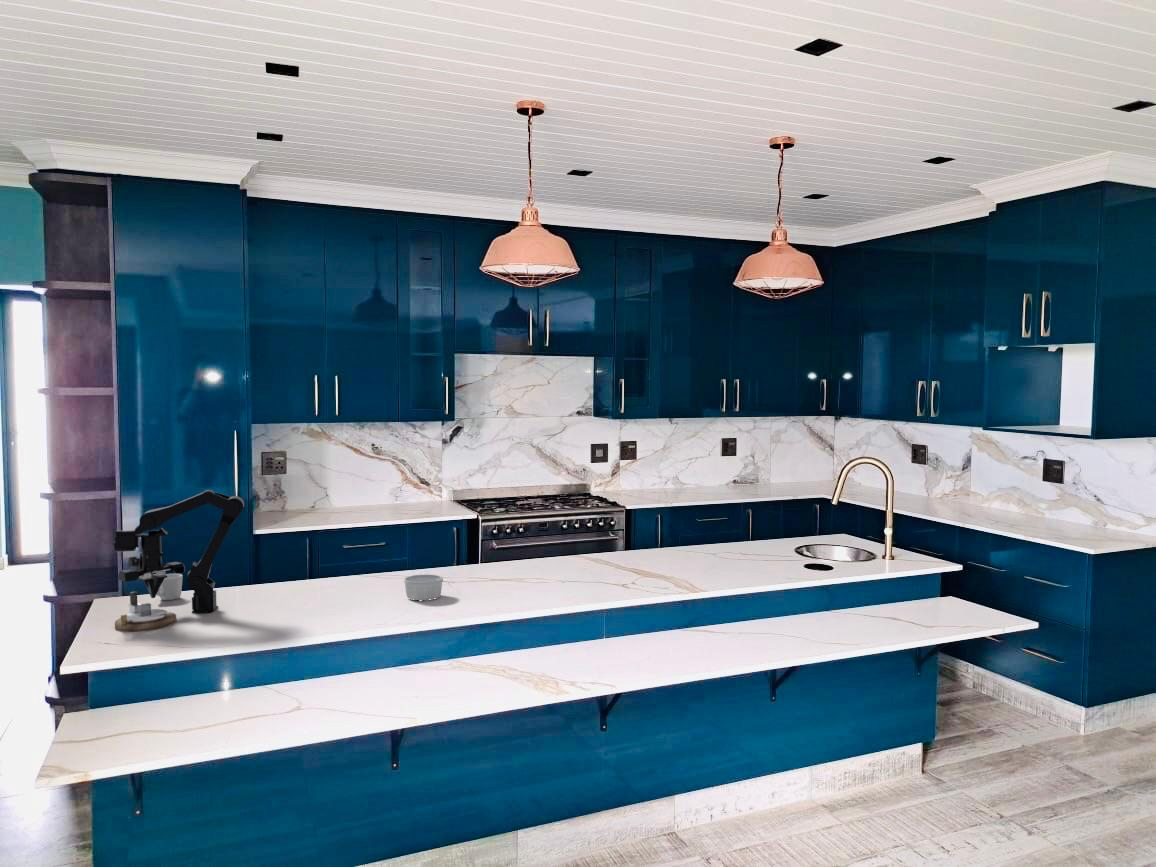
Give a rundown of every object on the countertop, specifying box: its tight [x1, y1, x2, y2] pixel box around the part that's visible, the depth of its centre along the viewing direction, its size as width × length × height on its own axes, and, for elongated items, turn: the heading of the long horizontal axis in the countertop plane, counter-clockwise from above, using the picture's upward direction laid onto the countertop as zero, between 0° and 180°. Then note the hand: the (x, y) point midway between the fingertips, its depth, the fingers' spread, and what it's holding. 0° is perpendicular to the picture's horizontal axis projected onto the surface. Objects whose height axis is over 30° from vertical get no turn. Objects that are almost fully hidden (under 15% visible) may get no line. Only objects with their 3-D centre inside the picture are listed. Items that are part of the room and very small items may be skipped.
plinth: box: [114, 611, 177, 633], centre depth 261 cm, size 17×17×4 cm
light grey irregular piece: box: [125, 591, 168, 623], centre depth 262 cm, size 16×12×7 cm
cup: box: [156, 573, 184, 601], centre depth 290 cm, size 11×8×8 cm
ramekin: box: [403, 573, 444, 600], centre depth 292 cm, size 13×13×7 cm
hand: (153, 597), depth 271 cm, fingers closed
